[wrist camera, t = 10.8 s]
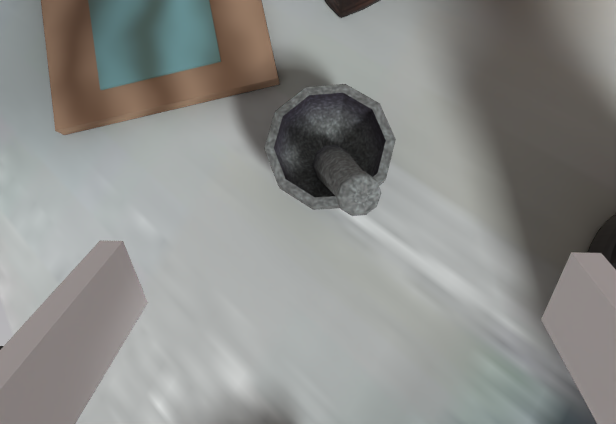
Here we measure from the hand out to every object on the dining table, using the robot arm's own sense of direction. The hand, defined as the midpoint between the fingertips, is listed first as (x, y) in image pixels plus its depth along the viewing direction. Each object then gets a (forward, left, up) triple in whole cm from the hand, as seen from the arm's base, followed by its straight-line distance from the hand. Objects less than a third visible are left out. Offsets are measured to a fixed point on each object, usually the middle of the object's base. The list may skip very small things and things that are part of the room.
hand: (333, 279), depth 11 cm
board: (+12, -28, -22) cm, 37 cm away
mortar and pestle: (-2, -9, -22) cm, 24 cm away
